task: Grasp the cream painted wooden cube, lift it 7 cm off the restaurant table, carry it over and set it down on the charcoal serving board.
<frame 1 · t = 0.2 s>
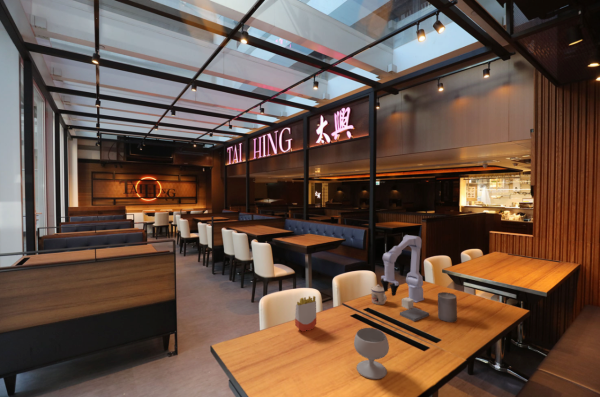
hand: (389, 293, 173), 10 cm above the table, fingers open, 7 cm apart
teacup with lid: (379, 303, 183), on the table
serving board: (414, 315, 164), on the table
french fries container: (305, 329, 150), on the table
pillar candle: (447, 318, 159), on the table
chalice: (371, 370, 114), on the table
cube: (407, 307, 176), on the table
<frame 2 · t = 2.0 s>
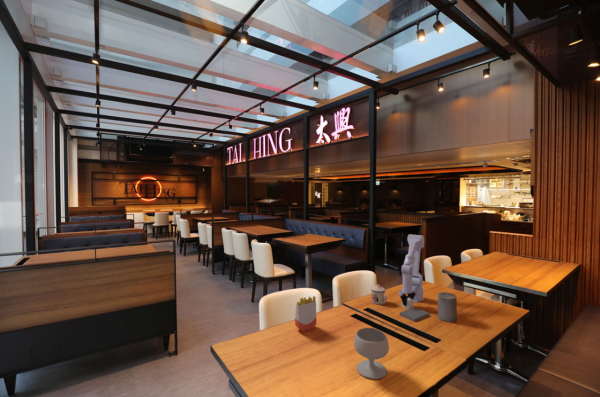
hand: (407, 304, 176), 1 cm above the table, fingers closed on cube, 5 cm apart
cube: (407, 306, 176), on the table, touching gripper
everything else where it was.
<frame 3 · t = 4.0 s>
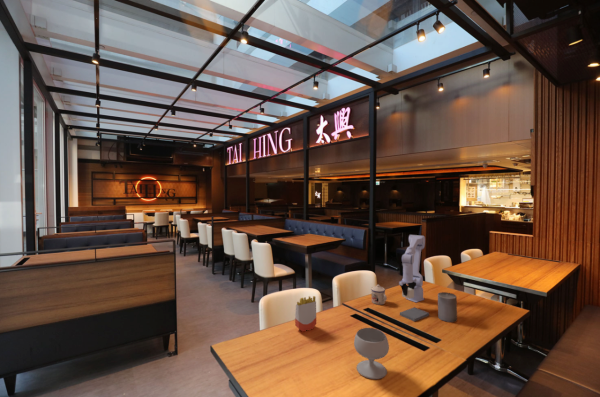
hand: (408, 294, 175), 8 cm above the table, fingers closed on cube, 5 cm apart
cube: (408, 296, 175), point 7 cm above the table, touching gripper
everything else where it was.
when the fingers open (4 cm above the table, at t = 6.3 s): cube drops 1 cm, resting on serving board.
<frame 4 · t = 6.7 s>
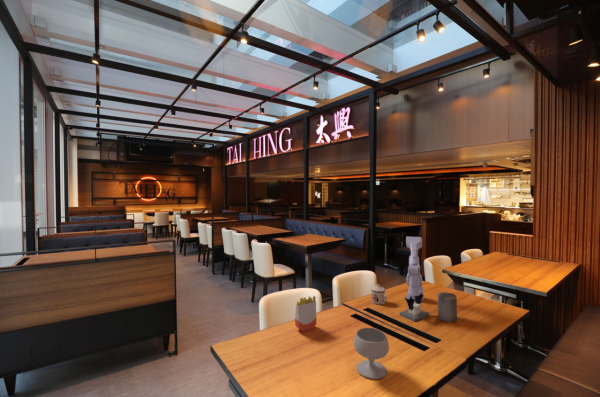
hand: (414, 307, 164), 4 cm above the table, fingers open, 7 cm apart
cube: (414, 312, 164), point 1 cm above the table, touching serving board
everything else where it was.
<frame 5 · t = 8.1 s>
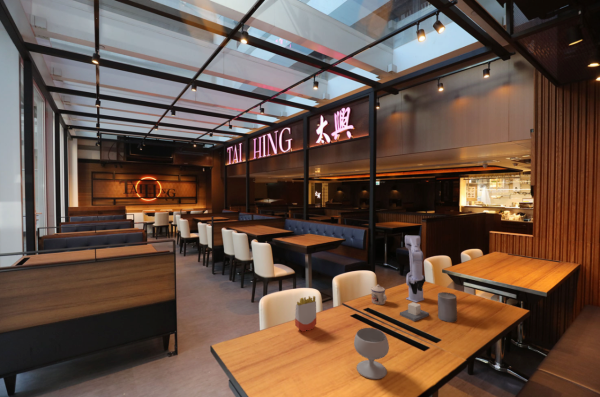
hand: (417, 292, 173), 10 cm above the table, fingers open, 7 cm apart
nothing on the table moved.
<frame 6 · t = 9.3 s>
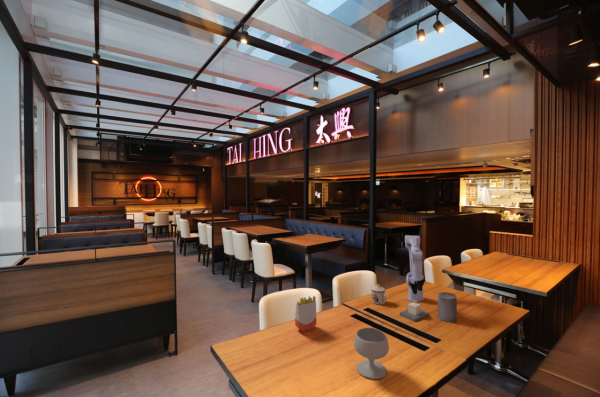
hand: (417, 292, 173), 10 cm above the table, fingers open, 7 cm apart
nothing on the table moved.
at the end: cube inside the target area on the serving board (0.1 cm from its centre), point 1.5 cm above the serving board's base; cube tilted 0°; the gripper is holding nothing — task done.
